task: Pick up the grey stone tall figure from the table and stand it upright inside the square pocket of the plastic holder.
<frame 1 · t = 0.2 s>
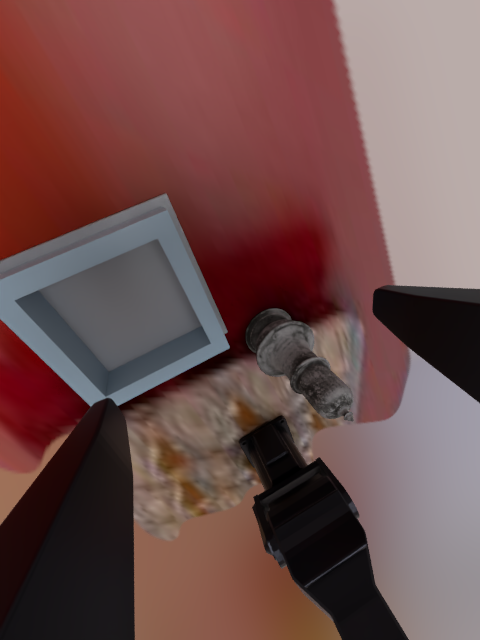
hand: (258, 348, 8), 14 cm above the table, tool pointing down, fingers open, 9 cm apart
holder: (129, 302, 20), on the table
grey stone tall figure: (268, 331, 27), on the table
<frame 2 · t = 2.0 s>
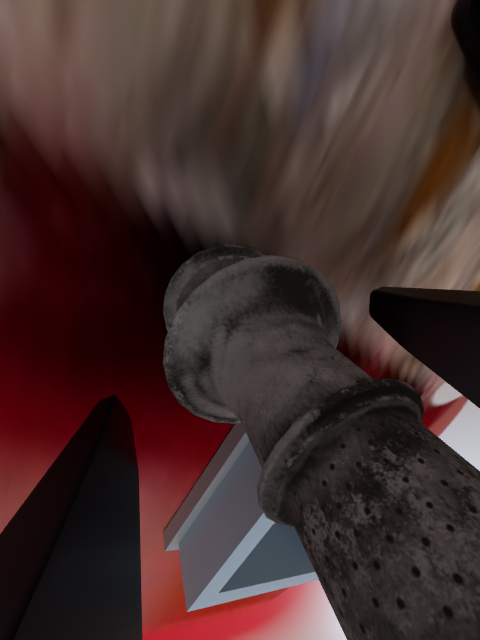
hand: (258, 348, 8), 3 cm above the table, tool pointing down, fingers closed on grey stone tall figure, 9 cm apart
holder: (282, 470, 18), on the table
grey stone tall figure: (226, 305, 11), on the table, touching gripper
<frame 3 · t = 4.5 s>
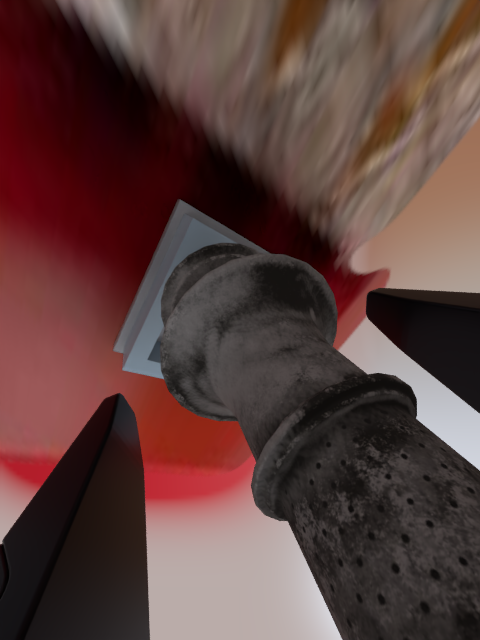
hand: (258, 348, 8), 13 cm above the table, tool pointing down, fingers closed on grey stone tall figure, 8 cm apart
holder: (213, 305, 22), on the table
grey stone tall figure: (223, 304, 11), point 10 cm above the table, touching gripper
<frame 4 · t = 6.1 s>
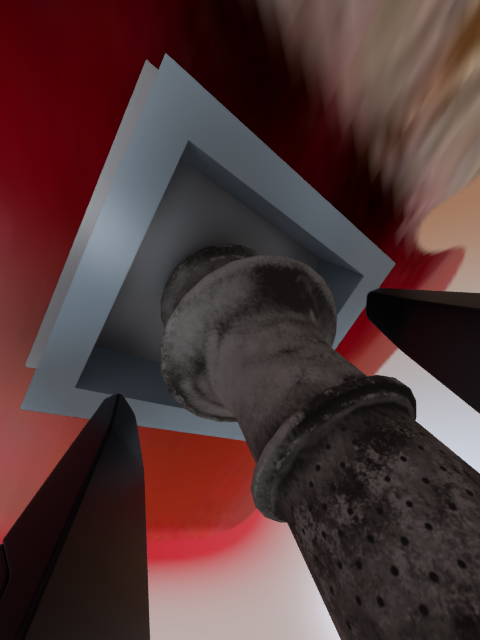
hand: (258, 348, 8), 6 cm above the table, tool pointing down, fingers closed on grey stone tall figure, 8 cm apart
holder: (210, 291, 13), on the table
grey stone tall figure: (223, 305, 11), point 2 cm above the table, touching gripper
when the fingers open (5 cm above the table, at t = 7.2 s): grey stone tall figure stays where it is, resting on holder.
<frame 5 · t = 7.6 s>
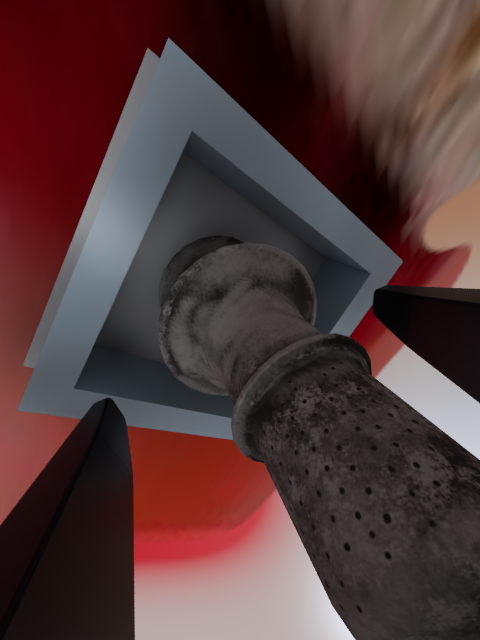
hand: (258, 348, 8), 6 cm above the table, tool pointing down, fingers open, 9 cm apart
holder: (213, 289, 13), on the table
grey stone tall figure: (216, 293, 12), point 1 cm above the table, touching holder
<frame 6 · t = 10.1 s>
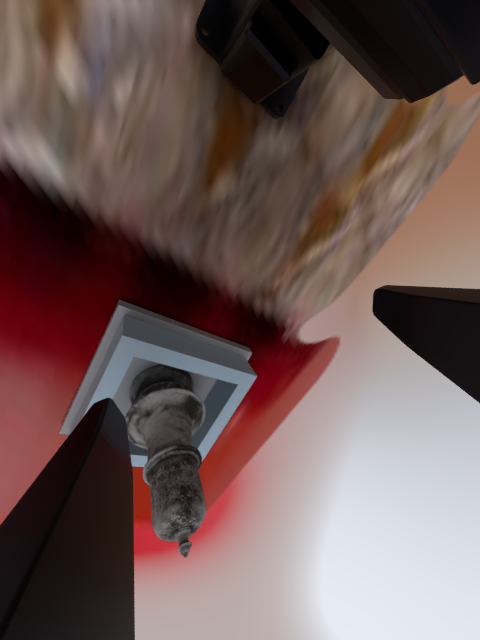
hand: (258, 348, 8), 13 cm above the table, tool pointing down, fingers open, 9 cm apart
holder: (162, 382, 23), on the table
grey stone tall figure: (162, 388, 22), point 1 cm above the table, touching holder
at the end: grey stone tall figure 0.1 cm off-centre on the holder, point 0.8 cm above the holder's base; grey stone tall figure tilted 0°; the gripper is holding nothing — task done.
